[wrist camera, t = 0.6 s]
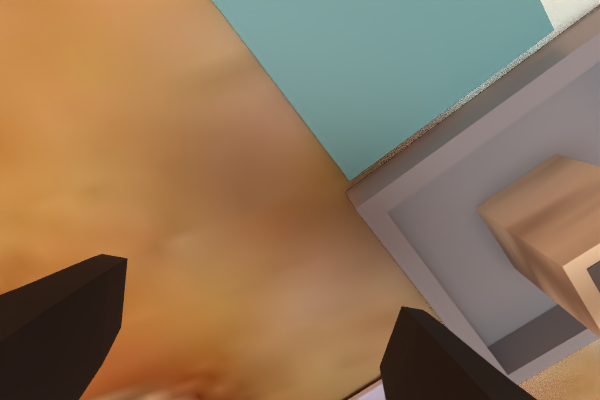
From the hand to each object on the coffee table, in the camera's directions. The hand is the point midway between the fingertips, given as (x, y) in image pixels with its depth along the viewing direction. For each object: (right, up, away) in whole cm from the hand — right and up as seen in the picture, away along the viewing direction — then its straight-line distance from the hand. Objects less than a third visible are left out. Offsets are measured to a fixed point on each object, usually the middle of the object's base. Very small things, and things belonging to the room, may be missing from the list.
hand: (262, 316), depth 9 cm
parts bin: (+13, +2, +10) cm, 16 cm away
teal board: (+4, +11, +6) cm, 14 cm away
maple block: (+13, +2, +9) cm, 16 cm away
